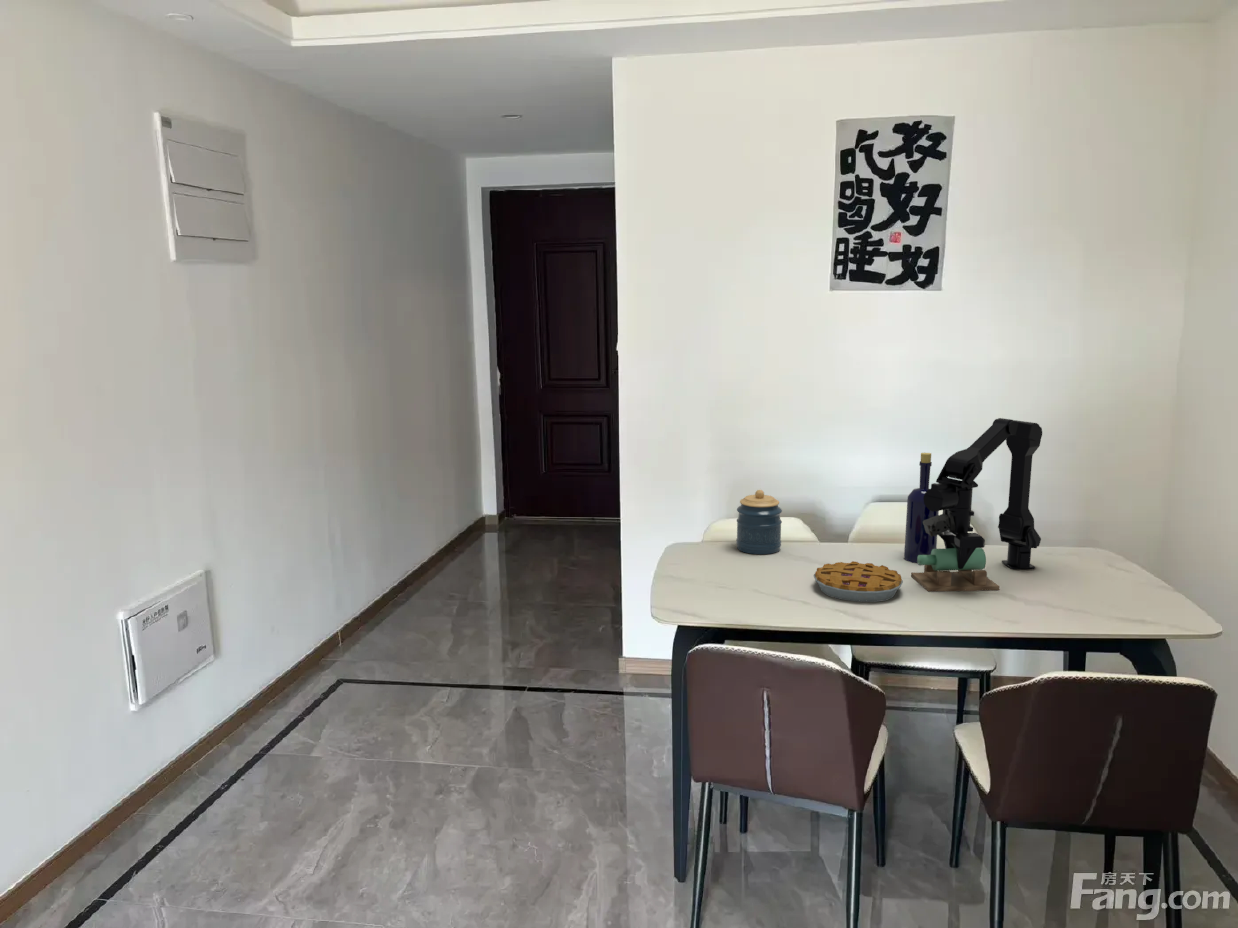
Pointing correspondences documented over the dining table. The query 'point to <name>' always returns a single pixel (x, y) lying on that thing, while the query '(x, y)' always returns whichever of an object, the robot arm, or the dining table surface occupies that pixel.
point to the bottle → (919, 517)
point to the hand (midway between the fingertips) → (955, 565)
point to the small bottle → (952, 560)
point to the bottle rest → (954, 580)
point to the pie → (858, 581)
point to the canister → (759, 524)
